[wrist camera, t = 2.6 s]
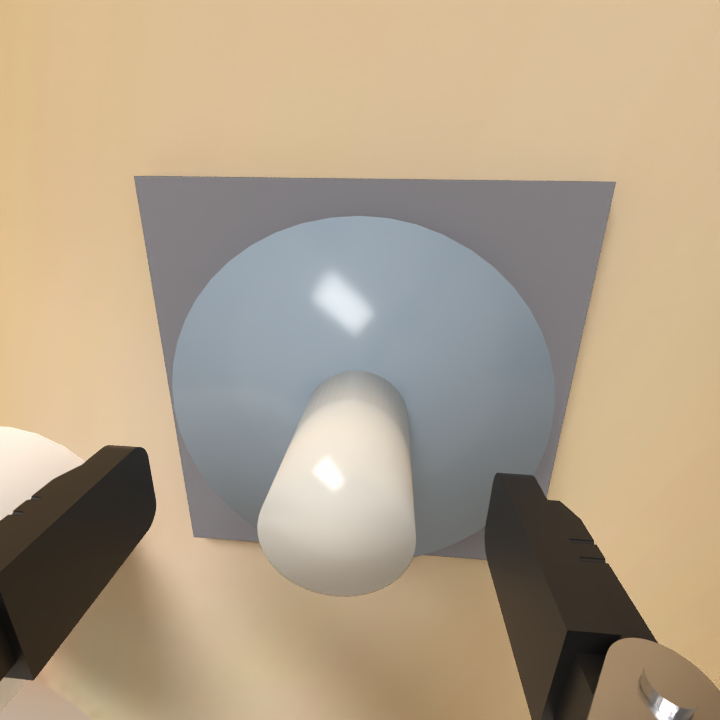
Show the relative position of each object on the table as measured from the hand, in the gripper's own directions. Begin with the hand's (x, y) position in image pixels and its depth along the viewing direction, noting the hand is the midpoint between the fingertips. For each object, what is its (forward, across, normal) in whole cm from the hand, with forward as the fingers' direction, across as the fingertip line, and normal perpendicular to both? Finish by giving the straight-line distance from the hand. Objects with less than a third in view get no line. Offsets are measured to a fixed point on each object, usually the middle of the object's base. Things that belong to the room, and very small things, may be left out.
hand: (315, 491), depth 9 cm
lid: (+5, -1, 0) cm, 5 cm away
